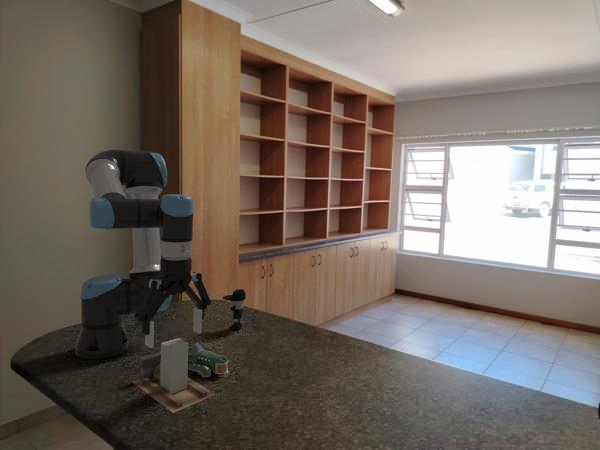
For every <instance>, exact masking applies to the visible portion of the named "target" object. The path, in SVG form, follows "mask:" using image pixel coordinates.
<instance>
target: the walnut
mask: <svg viewBox="0 0 600 450" xmlns="http://www.w3.org/2000/svg"><path fill="white" fill-rule="evenodd" d="M153 375H154V378H155V379H156V380H157V381H160V365H158V366H157V367H156V368H155V369H154V372H153Z"/></svg>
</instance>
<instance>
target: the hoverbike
mask: <svg viewBox="0 0 600 450" xmlns="http://www.w3.org/2000/svg"><path fill="white" fill-rule="evenodd" d="M206 347H207V344H206V343H205V344H203V347H202V346H201V345H200V344H199V343H198V342H196V343H194V344H193V346H190V347H188V374H190V375H195V374H197V375H199V376H200V378H201V379H205V378H206V379H207V378H209V377H211V376H212V373H214V375H216V374H217V375H218V376H217V378H226V377H228V376H229V375H231V373H230V371H229V369H228V367H229V365H228V364H229V360H228V358H227V357H226V356H225V355H223V354H219V353H218V352H216V353H215V352H212V351H210V350H207V349H206ZM158 350H159V351H158V352H161V347H160V348H159V349H158ZM211 371H212V373H211Z"/></svg>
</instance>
